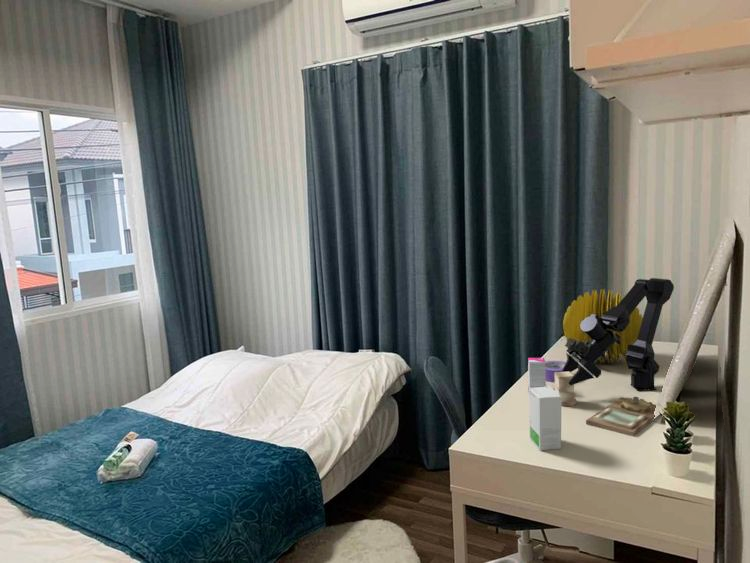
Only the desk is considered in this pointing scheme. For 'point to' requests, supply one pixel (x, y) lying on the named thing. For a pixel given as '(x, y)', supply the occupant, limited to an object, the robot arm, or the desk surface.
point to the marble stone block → (565, 388)
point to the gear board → (624, 416)
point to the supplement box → (536, 372)
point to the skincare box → (545, 418)
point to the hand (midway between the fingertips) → (565, 379)
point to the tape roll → (553, 369)
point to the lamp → (599, 307)
